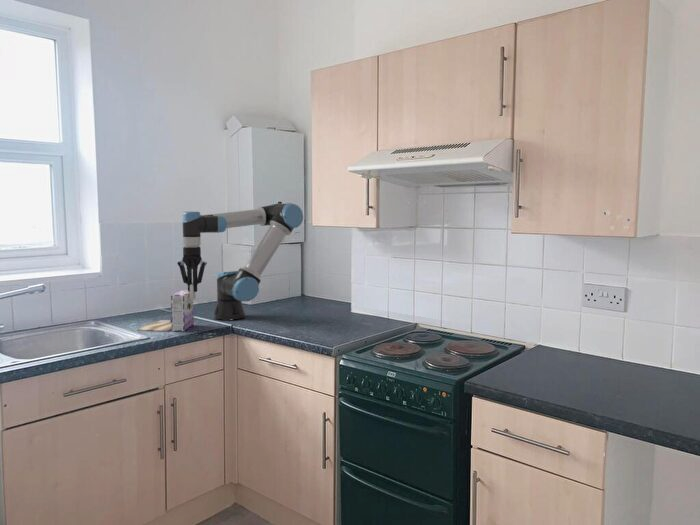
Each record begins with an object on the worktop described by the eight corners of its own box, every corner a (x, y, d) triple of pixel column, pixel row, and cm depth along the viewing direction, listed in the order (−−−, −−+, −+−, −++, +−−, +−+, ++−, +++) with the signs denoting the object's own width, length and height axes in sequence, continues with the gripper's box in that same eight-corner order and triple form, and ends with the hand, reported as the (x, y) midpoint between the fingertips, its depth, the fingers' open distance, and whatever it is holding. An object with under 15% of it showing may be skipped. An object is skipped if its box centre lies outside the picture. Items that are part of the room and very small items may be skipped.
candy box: (181, 324, 258) (180, 289, 257) (194, 325, 258) (193, 289, 256) (171, 331, 244) (170, 294, 243) (184, 331, 244) (183, 294, 243)
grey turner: (192, 321, 265) (192, 319, 265) (189, 323, 261) (189, 321, 261) (160, 320, 267) (160, 318, 267) (157, 322, 263) (156, 320, 263)
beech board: (182, 324, 260) (182, 322, 260) (167, 331, 244) (167, 330, 244) (153, 323, 261) (153, 321, 261) (137, 330, 245) (137, 329, 245)
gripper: (209, 246, 250) (209, 298, 252) (181, 245, 251) (181, 297, 254) (203, 247, 243) (203, 300, 245) (174, 246, 244) (175, 299, 246)
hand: (192, 298), depth 249 cm, fingers closed
